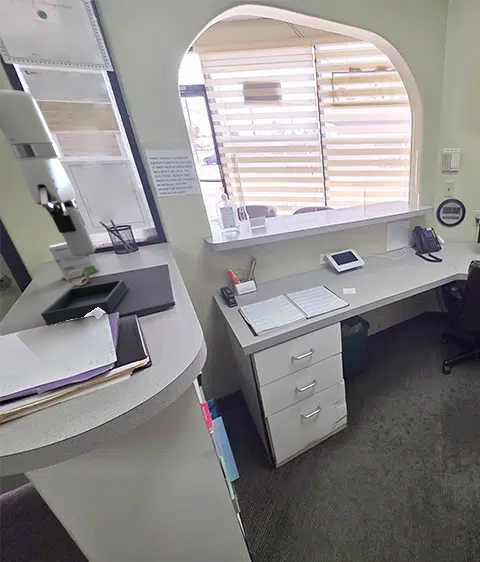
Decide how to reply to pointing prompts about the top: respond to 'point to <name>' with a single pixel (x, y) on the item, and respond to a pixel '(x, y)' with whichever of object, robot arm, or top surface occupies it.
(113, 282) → the desk tray
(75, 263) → the ink box
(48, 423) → the top surface
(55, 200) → the robot arm
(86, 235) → the beverage can
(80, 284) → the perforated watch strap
